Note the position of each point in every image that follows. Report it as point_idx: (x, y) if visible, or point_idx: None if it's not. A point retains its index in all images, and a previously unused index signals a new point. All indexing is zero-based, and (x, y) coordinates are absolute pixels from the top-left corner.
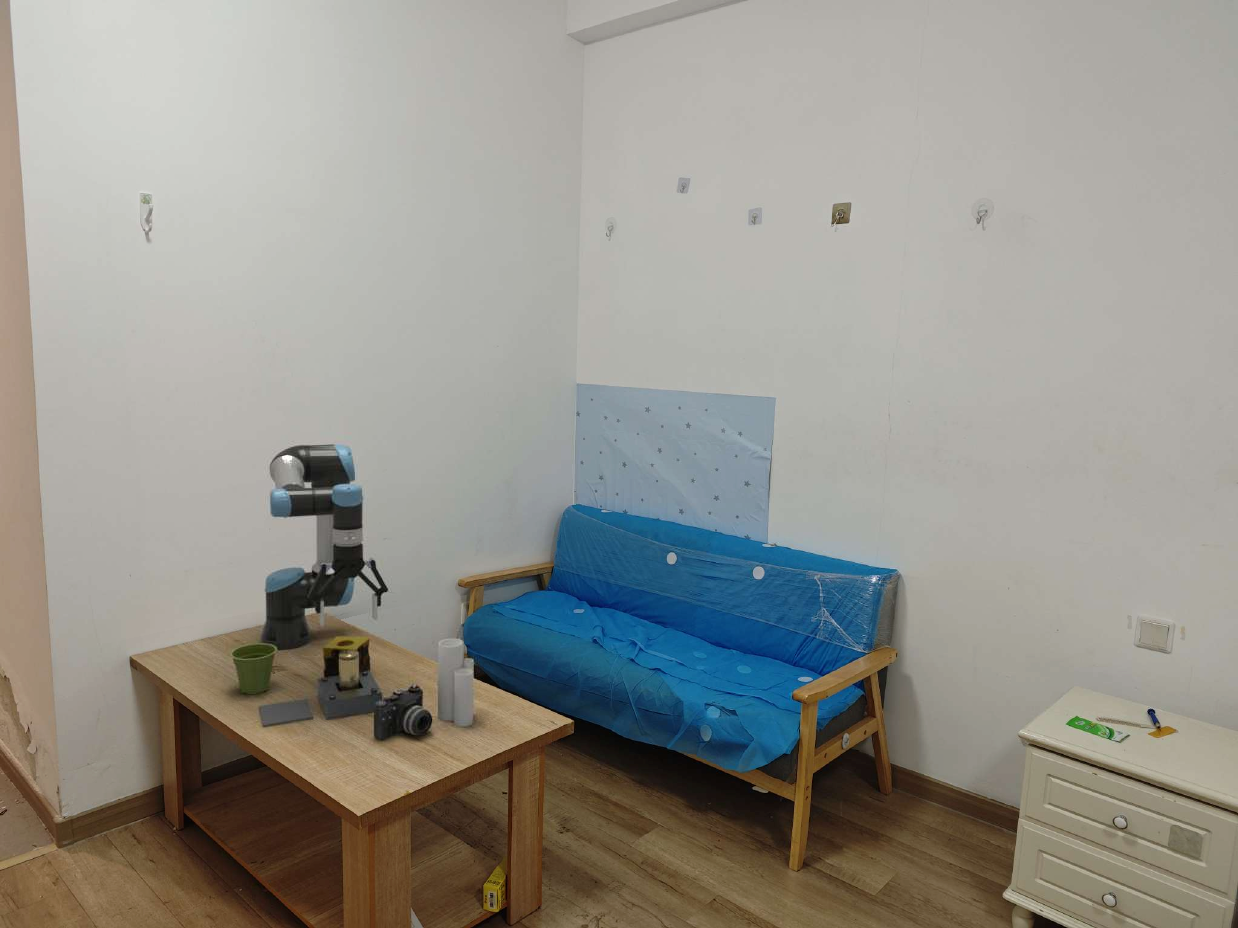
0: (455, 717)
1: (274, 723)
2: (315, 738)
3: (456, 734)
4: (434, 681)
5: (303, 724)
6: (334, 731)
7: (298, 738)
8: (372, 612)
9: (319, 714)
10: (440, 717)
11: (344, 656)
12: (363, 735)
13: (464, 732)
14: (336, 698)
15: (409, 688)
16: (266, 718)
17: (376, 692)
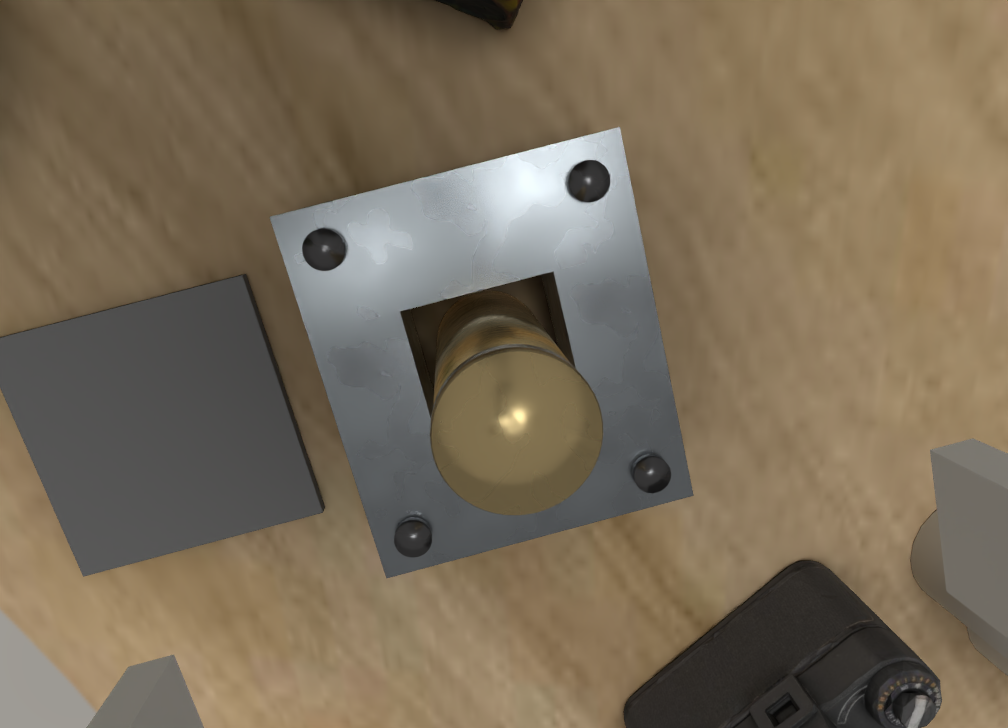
0: (996, 663)
1: (138, 561)
2: (369, 701)
3: (956, 721)
4: (968, 103)
5: (286, 562)
6: (446, 646)
7: (292, 694)
8: (988, 494)
9: (347, 462)
10: (924, 587)
11: (485, 500)
12: (577, 694)
13: (991, 708)
14: (438, 545)
15: (879, 711)
16: (78, 506)
17: (662, 491)
